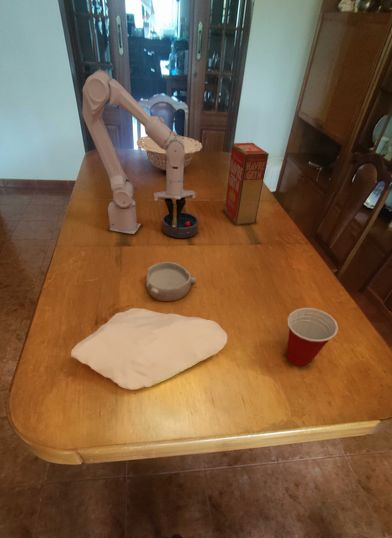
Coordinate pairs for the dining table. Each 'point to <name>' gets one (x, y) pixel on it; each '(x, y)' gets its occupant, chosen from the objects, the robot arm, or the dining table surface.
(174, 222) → the stick
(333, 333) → the plastic cup
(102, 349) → the crumpled cloth
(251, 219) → the food packaging
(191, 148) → the woven basket
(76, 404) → the dining table surface
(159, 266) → the dish
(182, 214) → the bowl
